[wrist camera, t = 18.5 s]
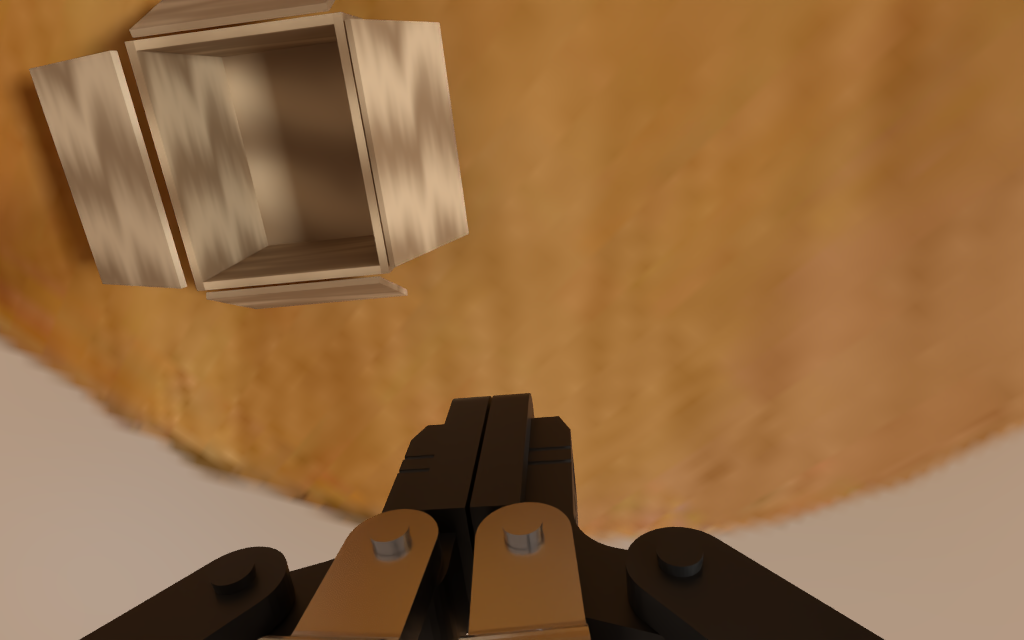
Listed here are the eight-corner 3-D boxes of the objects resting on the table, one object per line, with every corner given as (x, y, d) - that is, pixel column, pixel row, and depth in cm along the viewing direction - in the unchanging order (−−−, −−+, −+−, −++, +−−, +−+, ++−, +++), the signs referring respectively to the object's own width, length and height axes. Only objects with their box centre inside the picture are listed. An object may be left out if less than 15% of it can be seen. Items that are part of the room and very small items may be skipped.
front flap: (116, 50, 34) (36, 68, 38) (109, 50, 34) (29, 69, 38) (187, 286, 39) (108, 282, 43) (181, 288, 38) (102, 283, 42)
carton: (205, 1, 43) (102, -23, 33) (439, -32, 41) (403, -67, 31) (276, 288, 49) (208, 338, 40) (480, 269, 48) (460, 317, 38)
